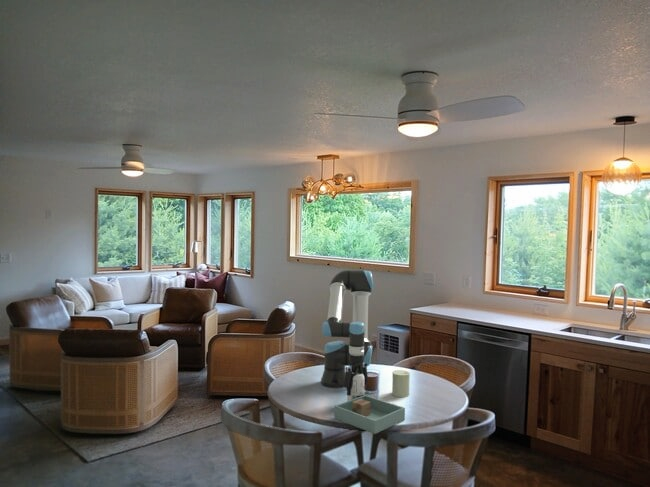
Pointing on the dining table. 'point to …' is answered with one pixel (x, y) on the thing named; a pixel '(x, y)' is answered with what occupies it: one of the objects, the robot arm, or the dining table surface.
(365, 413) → the walnut cube
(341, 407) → the tote
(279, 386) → the dining table surface
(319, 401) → the dining table surface
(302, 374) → the dining table surface
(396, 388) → the can
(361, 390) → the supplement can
